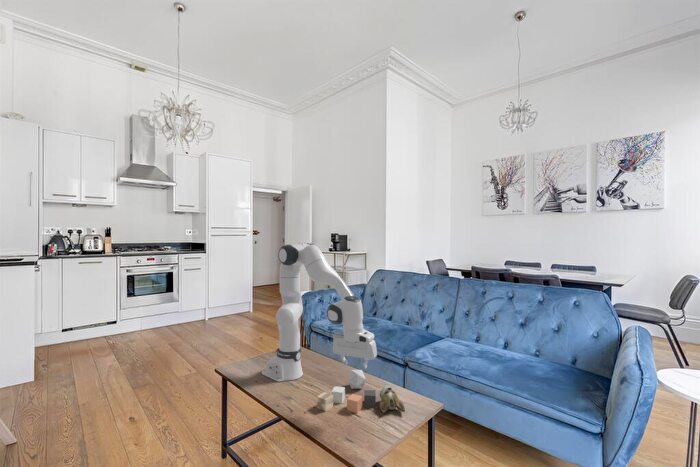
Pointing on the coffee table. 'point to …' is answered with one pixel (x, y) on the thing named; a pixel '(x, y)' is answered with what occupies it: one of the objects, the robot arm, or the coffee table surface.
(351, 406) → the terracotta cube
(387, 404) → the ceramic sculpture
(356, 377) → the die
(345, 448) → the coffee table surface
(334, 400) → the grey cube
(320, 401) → the birch cube
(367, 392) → the black cube
